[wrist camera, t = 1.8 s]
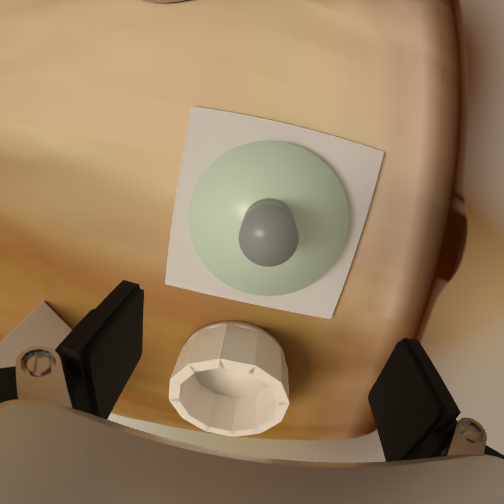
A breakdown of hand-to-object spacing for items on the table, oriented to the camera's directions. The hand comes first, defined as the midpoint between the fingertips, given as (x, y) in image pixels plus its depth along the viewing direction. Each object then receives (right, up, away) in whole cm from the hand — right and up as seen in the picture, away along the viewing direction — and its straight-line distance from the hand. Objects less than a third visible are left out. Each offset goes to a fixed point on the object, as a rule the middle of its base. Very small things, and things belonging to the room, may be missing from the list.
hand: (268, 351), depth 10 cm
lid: (+1, +6, +15) cm, 16 cm away
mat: (+1, +6, +16) cm, 17 cm away
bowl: (-3, -8, +21) cm, 23 cm away
